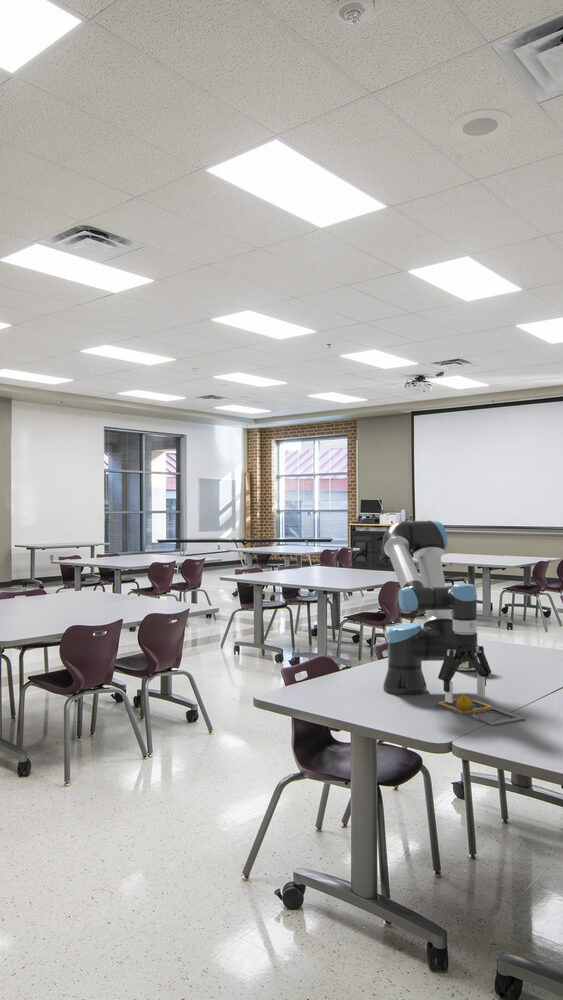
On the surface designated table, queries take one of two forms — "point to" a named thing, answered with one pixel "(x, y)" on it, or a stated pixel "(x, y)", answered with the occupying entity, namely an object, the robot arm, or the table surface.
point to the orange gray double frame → (481, 710)
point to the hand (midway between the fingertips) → (465, 699)
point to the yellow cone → (464, 702)
